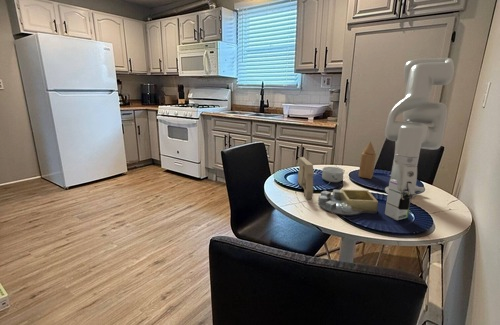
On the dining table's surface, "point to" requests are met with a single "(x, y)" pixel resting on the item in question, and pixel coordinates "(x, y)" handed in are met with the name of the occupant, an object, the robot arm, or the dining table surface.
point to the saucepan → (332, 174)
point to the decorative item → (367, 162)
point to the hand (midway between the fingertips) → (397, 204)
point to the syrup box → (395, 202)
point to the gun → (306, 177)
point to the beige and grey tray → (348, 202)
